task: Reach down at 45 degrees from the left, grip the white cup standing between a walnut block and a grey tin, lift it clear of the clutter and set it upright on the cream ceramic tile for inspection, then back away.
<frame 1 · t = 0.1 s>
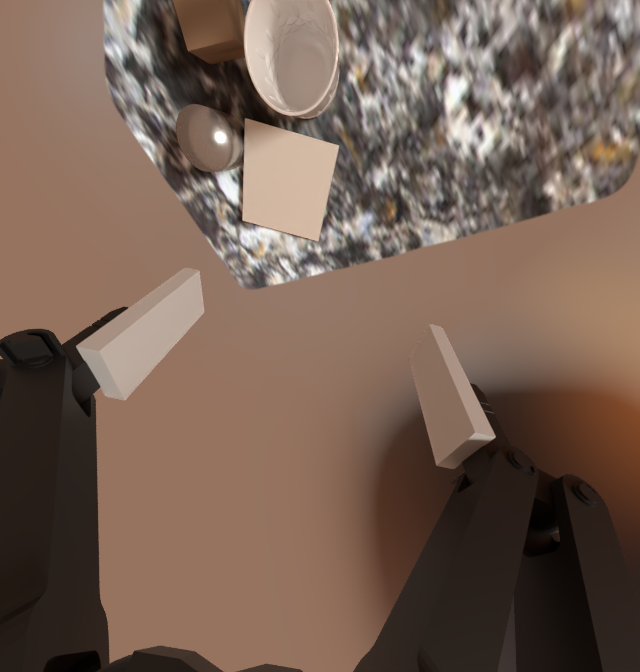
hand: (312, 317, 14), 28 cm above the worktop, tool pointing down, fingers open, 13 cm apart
tile: (287, 186, 34), on the worktop
walnut block: (223, 26, 26), on the worktop
grey tin: (225, 141, 32), on the worktop
white cup: (309, 79, 28), on the worktop
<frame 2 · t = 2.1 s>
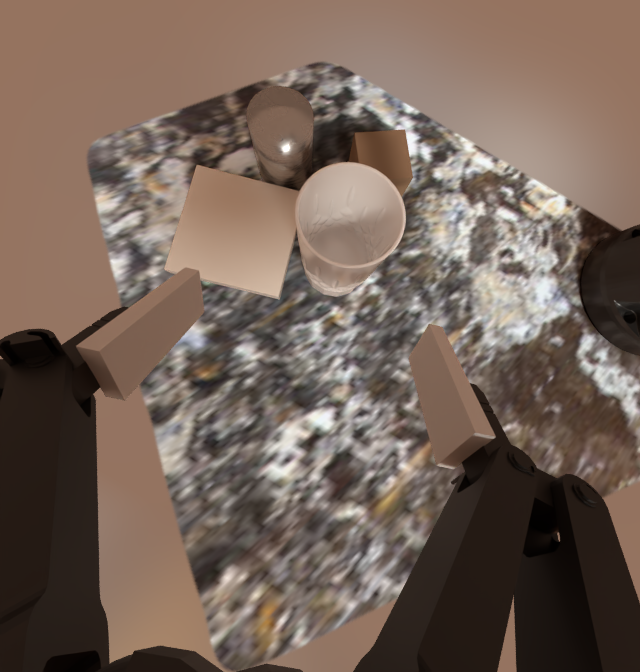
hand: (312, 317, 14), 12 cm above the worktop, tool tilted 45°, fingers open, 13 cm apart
tile: (239, 234, 27), on the worktop
walnut block: (369, 191, 28), on the worktop
grey tin: (286, 168, 28), on the worktop
white cup: (334, 268, 27), on the worktop
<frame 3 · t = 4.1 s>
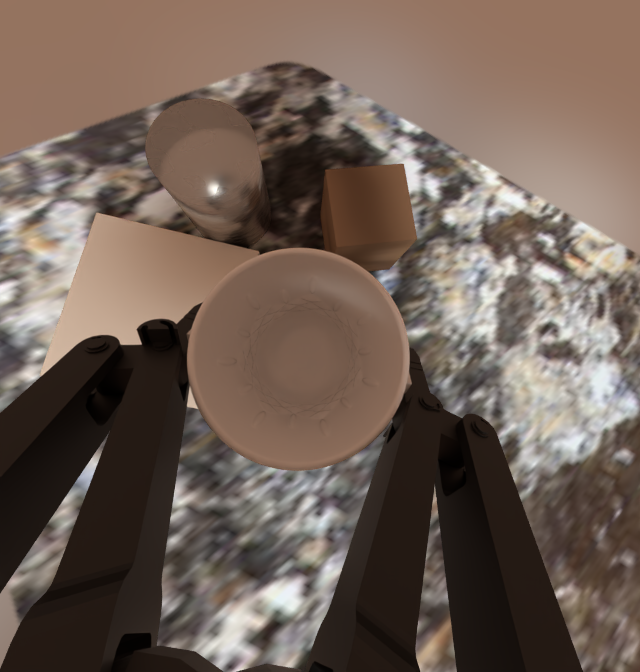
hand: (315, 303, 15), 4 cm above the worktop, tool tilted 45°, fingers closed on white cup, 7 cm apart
tile: (163, 312, 18), on the worktop
walnut block: (354, 243, 20), on the worktop
grey tin: (233, 213, 19), on the worktop
white cup: (303, 357, 19), on the worktop, touching gripper
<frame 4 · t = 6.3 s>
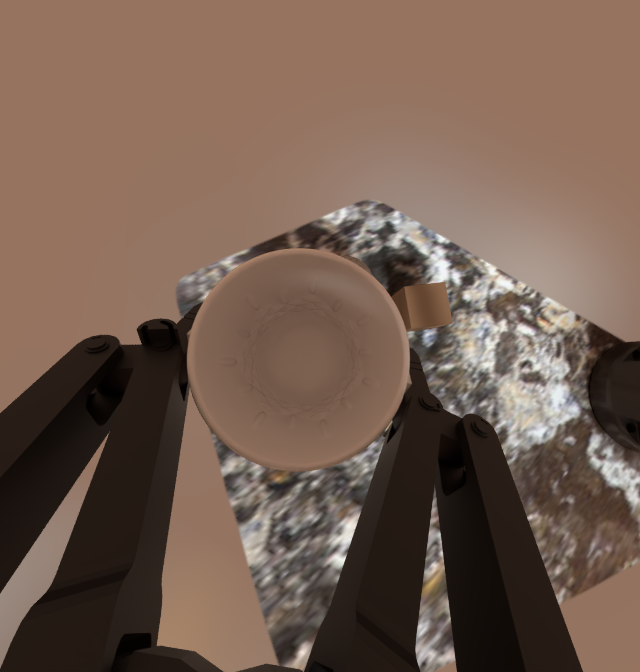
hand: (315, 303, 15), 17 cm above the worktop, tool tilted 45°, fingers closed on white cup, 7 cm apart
walnut block: (410, 313, 33), on the worktop
white cup: (303, 357, 19), point 13 cm above the worktop, touching gripper
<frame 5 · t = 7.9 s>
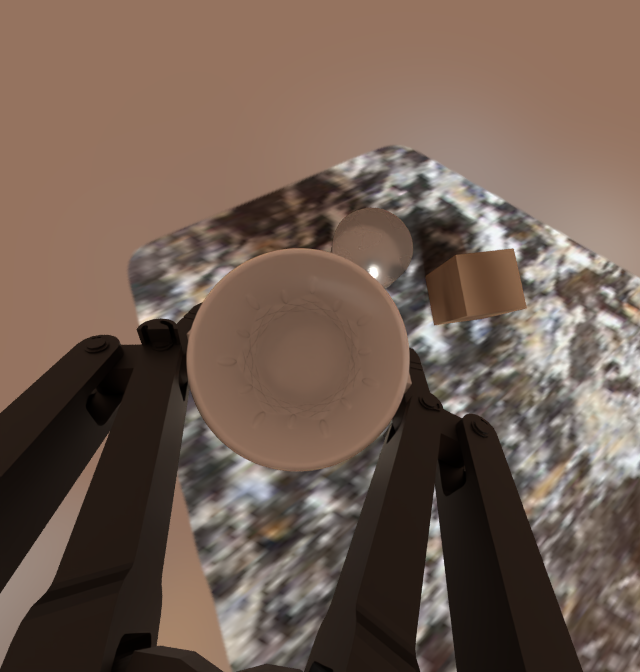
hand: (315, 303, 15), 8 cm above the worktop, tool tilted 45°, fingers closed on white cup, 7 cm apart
walnut block: (453, 297, 24), on the worktop
grey tin: (356, 274, 24), on the worktop
white cup: (303, 357, 19), point 4 cm above the worktop, touching gripper
when the fingers open (6 cm above the worktop, at t = 8.8 s): white cup stays where it is, resting on tile.
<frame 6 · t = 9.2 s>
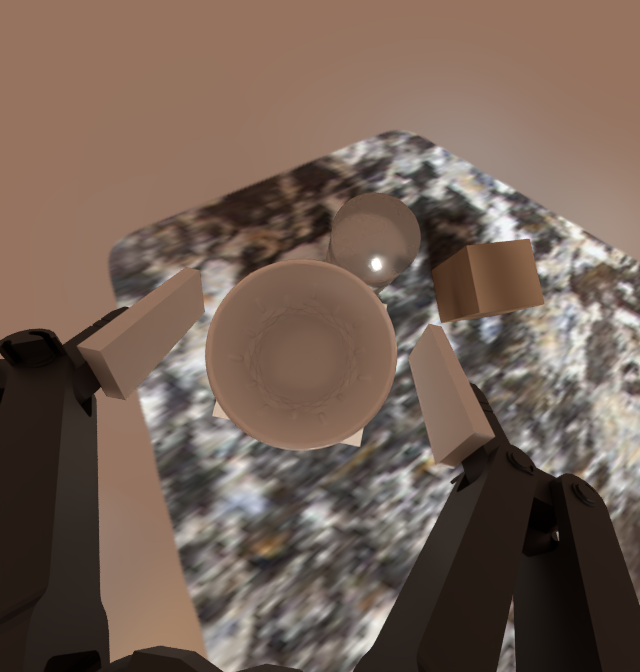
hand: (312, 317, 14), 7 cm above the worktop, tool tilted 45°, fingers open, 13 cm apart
tile: (303, 357, 21), on the worktop
walnut block: (461, 293, 23), on the worktop
grey tin: (357, 268, 22), on the worktop
white cup: (303, 358, 20), point 1 cm above the worktop, touching tile
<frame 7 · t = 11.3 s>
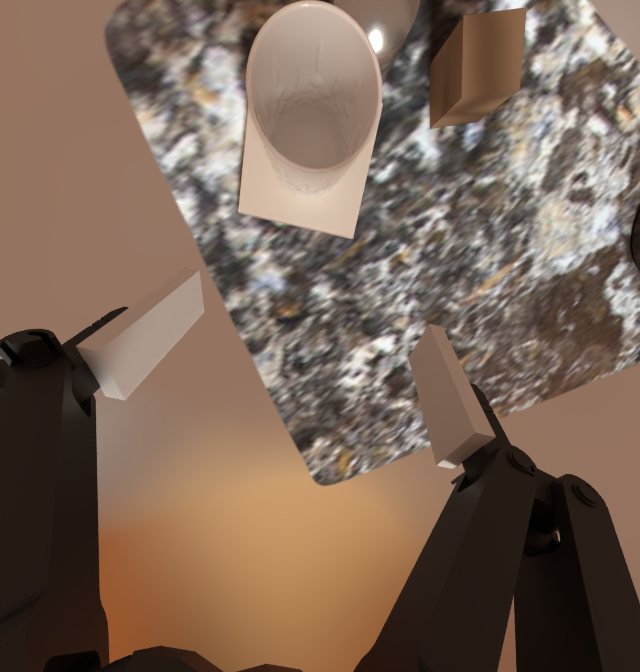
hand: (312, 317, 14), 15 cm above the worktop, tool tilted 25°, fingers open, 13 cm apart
tile: (307, 163, 24), on the worktop
walnut block: (453, 95, 24), on the worktop
grey tin: (357, 61, 22), on the worktop
white cup: (307, 161, 24), point 1 cm above the worktop, touching tile
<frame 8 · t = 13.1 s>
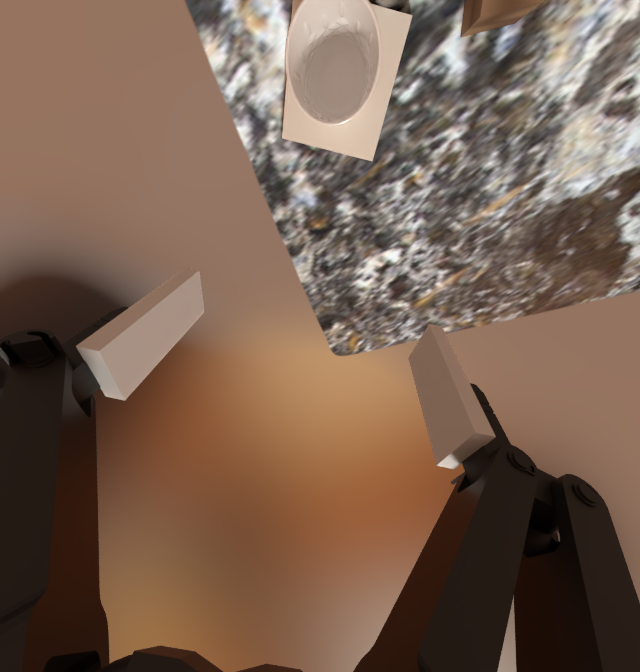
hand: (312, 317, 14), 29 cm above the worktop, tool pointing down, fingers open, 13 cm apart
tile: (339, 86, 28), on the worktop
white cup: (338, 86, 28), point 1 cm above the worktop, touching tile
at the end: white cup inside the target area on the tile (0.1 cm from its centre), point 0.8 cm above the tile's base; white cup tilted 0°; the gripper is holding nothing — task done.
